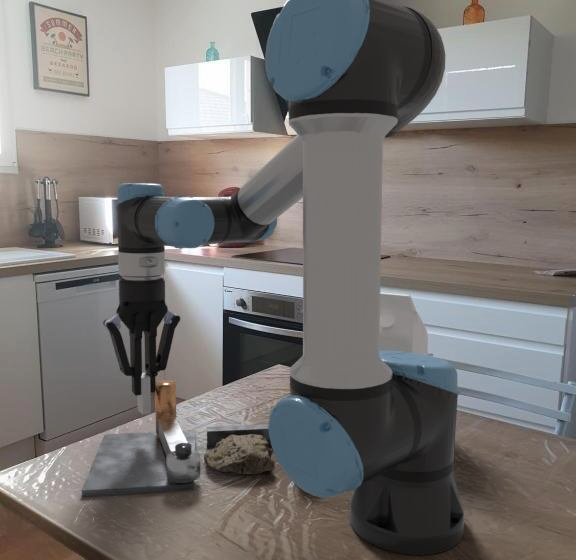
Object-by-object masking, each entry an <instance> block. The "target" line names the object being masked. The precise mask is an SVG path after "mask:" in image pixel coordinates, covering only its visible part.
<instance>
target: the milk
mask: <svg viewBox="0 0 576 560" xmlns="http://www.w3.org/2000/svg"><path fill="white" fill-rule="evenodd" d="M428 338H429V337H428V330H427V328H426V325H425V323H424V322H423V320H422V318H421V316H420V315H419V313H418V311H417V310H416V307H415V303H414V301H413V299H412V296H411V294H405V293H404V294H403V293H391V292H383V291H382V292H381V291H380V335H379V351H402V352H410V353H417V354H423V355H428V354H429V352H428V351H429V350H428V348H429V345H428V342H429V341H428V340H429V339H428ZM428 356H429V355H428Z"/></svg>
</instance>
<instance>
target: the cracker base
mask: <svg viewBox="0 0 576 560" xmlns="http://www.w3.org/2000/svg"><path fill="white" fill-rule="evenodd" d="M182 432H183V434H184V436H185V438H186V440H187V442H188V443H180V444H177V445H176V446H175V455H176V456H177V457H188V456H190V455H191V450H195V451H196V441H197V431H196V430H194V429H193V430H192V429H191V430H182ZM250 434H256V435H262V436H263V437H264V438H265V439H266V440H267V442H268V444H269V446H272V445H271V441H270V436H269V423H268V424H267V423H265V424H245V425H243V424H242V425H241V424H240V425H219V426H218V425H217V426H206V448H207V449H212V448H214V447H215V446H216V443H218V442H220V441H221V440H222V439H226V438H227V437H228V436H229V435H237V436H241V435H250ZM166 458H167V457H166V454H165V451H164V449H163V446H162V443H161V441H160V438H159V435H157V434H156V431H151V432H130V433H128V432H126V433H105V434H104V435H103V437H102V440H101V442H100V444H99V447H98V449H97V453H96V454H95V458H94V459H93V461H92V464H91V466H90V469H89V471H88V473H87V477H86V479H85V481H84V483H83V486H82V488H81V498H84V497H85V498H87V497H88V498H89V497H104V496H121V495H132V494H133V495H135V494H136V495H137V494H140V495H141V494H155V493H169V492H171V493H173V492H187V491H189V492H190V491H194V489H195V480H194V481H192V482H188V483H175V482H172V481H170V480H168V478H167V459H166Z"/></svg>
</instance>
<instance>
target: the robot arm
mask: <svg viewBox="0 0 576 560" xmlns="http://www.w3.org/2000/svg"><path fill="white" fill-rule="evenodd" d="M265 48H266V49H265V56H264V57H265V58H264V59H265V61H264V62H265V70H266V71H265V73H266V76H267V79H268V81H269V83H270V84H271V85H272V88H273V90H274V92H275V93H277V94H278V95H279V96H280V97H282V99H283V100H285V101H288V125H289V126H290V128H291V129H293V130H294V132H296V134H297V135H296V136H294V137H293V138H292V139H291V140H290V141H289V142H288V143H287V144H286V145H285V146H284V147H283V148H281V149H280V151H278V153H277V154H275V156H273V157H272V158H271V159H270V160H269V161H268V162H267V163H265V164H264V165H263V166H262V167H261V168H260V169H258V171H257V172H256V173H255V174H254V175H253V176H252V177H250V178H249V180H247V182H245V183H244V184H243V185H242V186H241V187H240V188H239V189H238V190H236V192H234V193H233V194H231V195H230V196H211V197H210V196H182V195H181V196H165V190H164V187H163V186H162V185H161V184H160V183H140V182H139V183H137V182H136V183H131V182H126V183H120V185H119V186H118V187H117V194H116V195H117V196H116V197H117V198H116V199H117V200H116V206H115V209H116V215H117V216H116V219H117V221H116V223H117V224H116V225H117V246H118V248H117V250H118V251H117V253H118V254H117V256H118V257H117V258H118V261H117V262H118V263H117V265H118V275H119V276H121V278H119V279H118V300H119V301H118V302H119V304H118V307H117V309H116V313H115V315H114V316H111V318H110V319H104V320H103V323H102V324H103V326H104V327H105V329H106V330H107V331H108V332H109V335H110V338H111V342H112V346H113V349H114V354H115V356H116V360H117V363H118V367H119V371H120V372H121V373H123V375H124V376H127V377H128V376H130V377H131V392H132V393H133V395H134V396H136V397H137V401H136V402H137V410H138V412H139V413H140V414H141V415H142V416H144V415H150V414H152V407H151V406H152V405H151V394H155V390H156V382H157V381H156V377H157V376H158V374H159V372H161V371H162V372H163V371H165V370H166V369H167V366H168V363H169V362H168V361H169V357H170V353H171V349H172V348H171V347H172V344H173V340H174V334H175V331H176V329H177V326H178V325H179V323H180V321H181V316H180V315H178V314H176V313H174V312H171V311H169V307H168V306H167V304H166V279H165V278H164V277H162V276H164V274H165V272H166V265H165V264H166V262H165V259H166V257H165V256H166V254H165V252H166V251H165V247H166V246H167V247H168V246H169V247H173V248H175V249H179V250H182V249H196V248H199V247H201V246H204V245H206V246H207V245H216V244H229V243H230V244H233V243H235V244H236V243H248V244H249V243H255V242H257V241H263V240H267V239H269V238H271V236H273V234H274V231H275V228H277V225H278V218H279V217H280V216H282V215H283V214H285V212H287V211H288V210H289V209H290V208H292V207H293V206H294V205H296V203H298V202H299V201H300V200H302V356H301V357H300V358H298V359H297V361H296V362H295V363H294V364H293V365H291V367H290V369H289V395H287V396H285V397H282V398H281V399H280V400H279V401H278V402H276V403H275V406H274V407H273V408H272V409H271V412H270V414H269V418H268V424H269V436H270V441H271V445H270V446H271V449H272V452H273V454H274V455H275V458H276V461H278V464H279V465H280V466H281V468H282V469H283V471H284V473H285V474H286V476H287V477H288V479H290V480H291V482H293V484H294V485H296V486H297V487H298V488H300V490H302V491H304V492H305V493H307V494H308V495H311V496H314V497H318V498H324V499H325V498H328V499H329V498H333V497H334V498H335V497H337V496H339V495H341V494H344V493H346V492H352V494H351V496H350V501H349V513H348V514H349V515H348V516H349V522H350V525H351V527H352V529H353V530H354V532H355V533H356V534H357V535H358V536H359V537H361V539H363V540H364V541H366V542H368V543H369V544H371V545H374V546H375V547H378V548H380V549H382V550H383V549H384V550H387V551H389V552H392V553H397V554H403V555H405V554H406V555H412V556H413V555H415V556H422V555H423V556H424V555H433V554H438V553H442V552H445V551H447V550H450V549H451V548H454V547H455V546H456V545H458V543H459V542H460V541H461V540H462V538H463V536H464V530H465V513H464V508H463V504H462V501H461V498H460V493H459V491H458V486H457V482H456V479H455V476H454V458H455V446H456V445H455V442H456V429H457V412H458V396H459V395H460V391H459V390H458V385H459V384H458V372H457V368H456V367H455V366H454V365H453V364H452V363H450V362H448V361H447V360H444V359H441V358H439V357H435V356H431V355H423V354H417V353H410V352H402V351H379V335H380V292H381V271H382V270H381V266H382V265H381V262H382V261H381V260H382V215H383V214H382V212H383V211H382V208H383V207H382V205H383V203H382V201H383V154H384V153H383V152H384V151H383V149H384V148H383V146H384V140H388V139H390V138H392V137H394V136H395V135H396V134H397V133H399V132H400V131H401V130H402V129H404V128H405V127H407V126H408V125H410V123H411V122H413V121H414V120H415V119H417V117H418V116H419V115H420V114H421V113H422V112H423V111H424V110H425V109H426V108H427V107H428V106H429V105H430V103H432V102H431V101H432V100H433V99H434V98H435V96H436V95H437V93H438V90H439V88H440V86H441V84H442V82H443V78H444V75H445V70H446V51H445V49H446V48H445V45H444V41H443V39H442V35H441V34H440V32H439V30H438V28H437V27H436V25H435V24H434V23H433V22H432V21H431V20H430V18H428V17H427V16H426V15H424V13H422V12H420V11H419V10H416V9H414V8H411V7H408V6H405V5H401V4H398V3H395V2H392V1H389V0H286V2H285V3H284V4H283V6H282V9H281V10H280V13H278V14H276V17H275V18H274V21H273V23H272V25H271V28H270V32H269V34H268V37H267V41H266V47H265ZM162 321H163V322H164V323H163V325H162V329H161V330H162V331H161V335H160V339H159V343H158V348H157V336H158V327H159V326H160V324H161V323H162ZM121 323H123V325H124V326H125V328H127V329H128V335H129V351H130V352H129V355H130V359H129V357H128V354H127V350H126V347H125V342H124V340H123V336H122V333H121V332H120V329H121V325H122V324H121ZM143 334H144V371H145V372H143V352H142V351H143V350H142V348H143V347H142V346H143V345H142V339H143ZM129 360H130V361H129Z"/></svg>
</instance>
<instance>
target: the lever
mask: <svg viewBox="0 0 576 560" xmlns="http://www.w3.org/2000/svg"><path fill="white" fill-rule="evenodd" d="M154 405H155V407H154V408H155V409H154V410H155V432H156V434H157V435H159V438H160V441H161V443H162V446H163V449H164V451H165V454H166V457H167V458H166V459H167V478H168V480H170V481H172V482H175V483H188V482H192V481H194V482H195V481H196V480H198V479H199V478H200V476H201V453H200V452H199V451H197V450H196V449H195V450H191V455H190V456H188V457H177V456H176V455H175V446H176V445H177V444H180V443H188V442H187V440H186V438H185V436H184V434H183V432H182V431H183V430H182V428H181V426H180V424H179V422H178V420H177V382H176V381H175V380H171V379H164V380H163V379H162V380H159V381H156V390H155V392H154Z"/></svg>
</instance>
